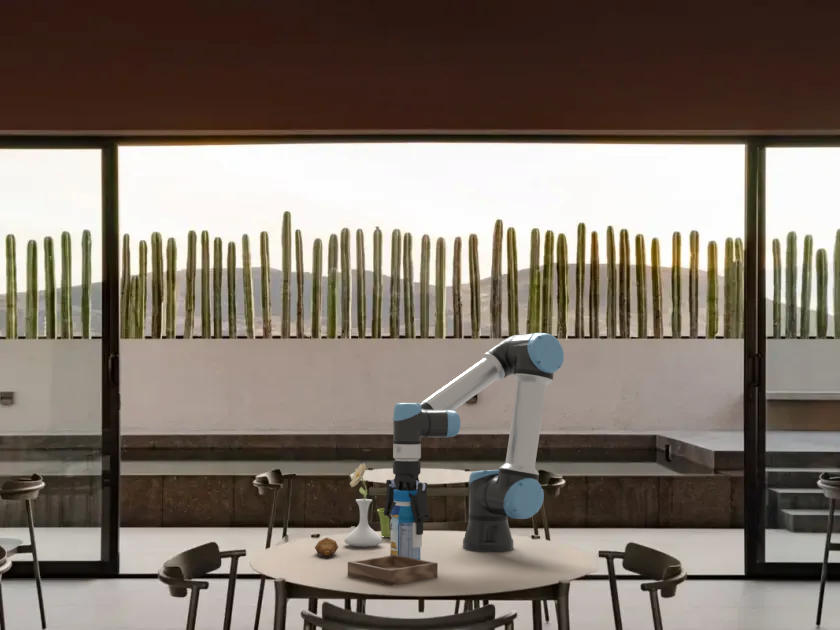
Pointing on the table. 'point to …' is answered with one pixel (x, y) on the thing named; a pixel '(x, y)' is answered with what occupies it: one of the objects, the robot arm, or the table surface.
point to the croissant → (326, 547)
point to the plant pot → (384, 523)
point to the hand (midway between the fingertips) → (405, 544)
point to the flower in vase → (362, 517)
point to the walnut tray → (392, 569)
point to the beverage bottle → (403, 526)
